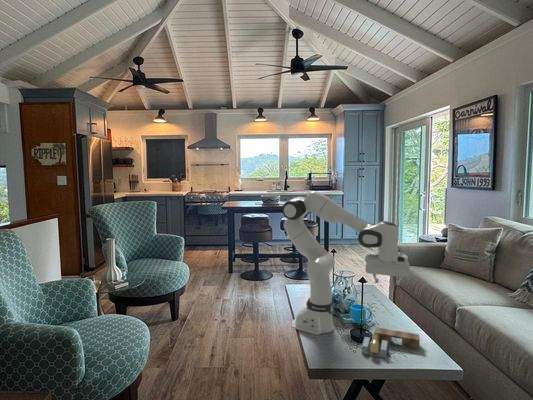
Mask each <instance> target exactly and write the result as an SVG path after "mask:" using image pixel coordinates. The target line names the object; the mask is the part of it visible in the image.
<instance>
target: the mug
mask: <svg viewBox="0 0 533 400" xmlns="http://www.w3.org/2000/svg"><path fill="white" fill-rule="evenodd" d="M361 305H362V304H358V303H354V304H351V305H350V309H349V310H350V311H349V313H350V315H349V318H350V317H351V319H353V320H354V321H355V322H356V323H358V324H360V319H361ZM366 311H368V312H369V315H368V317H366V313H367V312H366ZM372 315H373V313H372V311H371V309H370V308H368V307H366V306H365V305H363V324H362V325H364V324H366V321H367V320H369V319H370V318H372ZM358 324H357V325H358Z"/></svg>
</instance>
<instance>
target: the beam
mask: <svg viewBox="0 0 533 400" xmlns="http://www.w3.org/2000/svg"><path fill="white" fill-rule="evenodd" d="M374 334H378V335H379V336H380V345H381V344H382V340H385V341H388V342H387V346H392V338H395V339H398V340H399V339H400V340H401V348H403V349H410V350H415V351H420V345H421V344H420V343H421V340H420V339H421V337H420V334H419V333H418V334H417V333H412V332H406V331H400V330H395V329H388V328H383V327H382V328H381V327H377V326H376V327H375V329H374V333H373V335H374Z"/></svg>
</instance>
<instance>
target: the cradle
mask: <svg viewBox="0 0 533 400" xmlns="http://www.w3.org/2000/svg"><path fill="white" fill-rule="evenodd" d="M387 342H388V341H385V340H382V344H379V349H378V354H377V355H372V354H371V353H370V346H371V338H370V337H367V336H364V339H363V341H362V345H361V354H363V355H369V356H374V357H375V356H376V357H380V358H383V359H387V355H388V354H387V353H388V345H387Z"/></svg>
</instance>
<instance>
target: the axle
mask: <svg viewBox="0 0 533 400" xmlns="http://www.w3.org/2000/svg"><path fill="white" fill-rule="evenodd" d="M370 343H371V346H370V353H371V354H372V355H371V356H373V355H377V354H378V349H379V344H380V336H379V335H378V334H374V333H373V335H372V339H371V341H370ZM380 345H381V344H380Z"/></svg>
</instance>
